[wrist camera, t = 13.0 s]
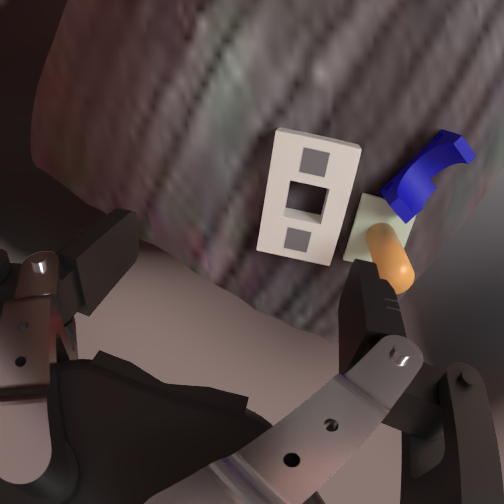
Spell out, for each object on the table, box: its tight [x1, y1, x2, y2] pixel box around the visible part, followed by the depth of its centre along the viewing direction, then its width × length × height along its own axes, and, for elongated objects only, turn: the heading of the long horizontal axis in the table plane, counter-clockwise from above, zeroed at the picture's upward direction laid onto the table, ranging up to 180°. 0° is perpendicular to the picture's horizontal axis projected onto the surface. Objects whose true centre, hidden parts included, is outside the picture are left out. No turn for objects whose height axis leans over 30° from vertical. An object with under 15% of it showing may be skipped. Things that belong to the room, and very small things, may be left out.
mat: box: [343, 193, 416, 262], centre depth 41 cm, size 10×8×1 cm
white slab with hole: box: [257, 127, 362, 266], centre depth 39 cm, size 16×10×3 cm, turn 172°
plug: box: [366, 223, 415, 294], centre depth 36 cm, size 4×4×10 cm
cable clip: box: [380, 130, 476, 224], centre depth 33 cm, size 12×4×6 cm, turn 140°
